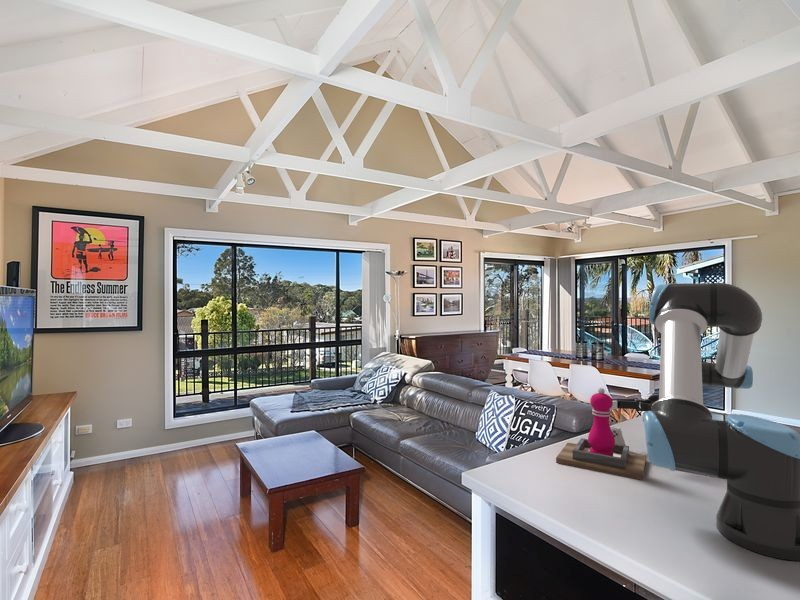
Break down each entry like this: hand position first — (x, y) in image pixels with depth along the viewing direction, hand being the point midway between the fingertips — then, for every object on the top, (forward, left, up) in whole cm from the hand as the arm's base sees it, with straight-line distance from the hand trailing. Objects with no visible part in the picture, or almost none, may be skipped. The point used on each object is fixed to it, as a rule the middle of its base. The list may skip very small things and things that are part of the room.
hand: (622, 411), depth 129 cm
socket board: (-8, +5, -14) cm, 17 cm away
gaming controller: (+8, +5, -14) cm, 17 cm away
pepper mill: (-8, +5, -12) cm, 15 cm away
